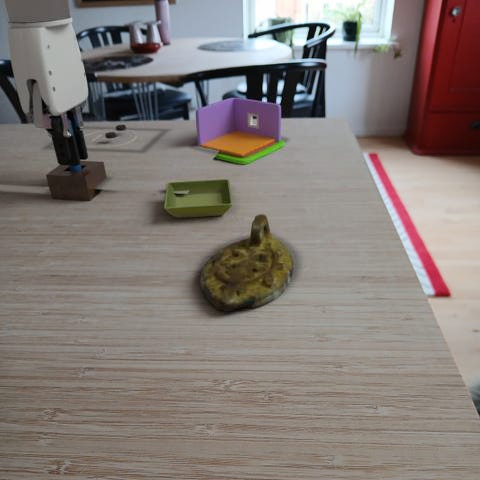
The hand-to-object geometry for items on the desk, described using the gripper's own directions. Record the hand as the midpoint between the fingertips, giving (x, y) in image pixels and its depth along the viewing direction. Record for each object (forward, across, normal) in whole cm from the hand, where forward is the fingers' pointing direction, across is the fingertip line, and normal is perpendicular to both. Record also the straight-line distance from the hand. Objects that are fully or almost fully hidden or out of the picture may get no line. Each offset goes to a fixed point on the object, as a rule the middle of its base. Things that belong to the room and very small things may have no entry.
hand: (73, 160), depth 72 cm
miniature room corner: (+5, -21, +19) cm, 29 cm away
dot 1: (+3, -19, -3) cm, 19 cm away
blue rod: (+5, 0, 0) cm, 5 cm away
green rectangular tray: (+5, +3, +19) cm, 20 cm away
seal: (+5, +19, +29) cm, 35 cm away
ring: (+5, -21, -5) cm, 22 cm away
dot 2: (+3, -23, -3) cm, 24 cm away
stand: (+5, 0, 0) cm, 5 cm away
